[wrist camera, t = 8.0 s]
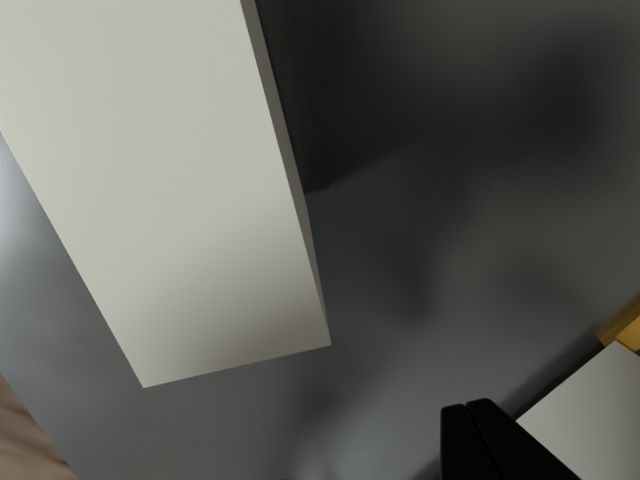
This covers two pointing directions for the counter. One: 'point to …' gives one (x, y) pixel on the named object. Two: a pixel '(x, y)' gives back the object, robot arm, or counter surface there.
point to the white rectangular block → (594, 417)
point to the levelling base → (379, 248)
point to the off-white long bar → (166, 176)
